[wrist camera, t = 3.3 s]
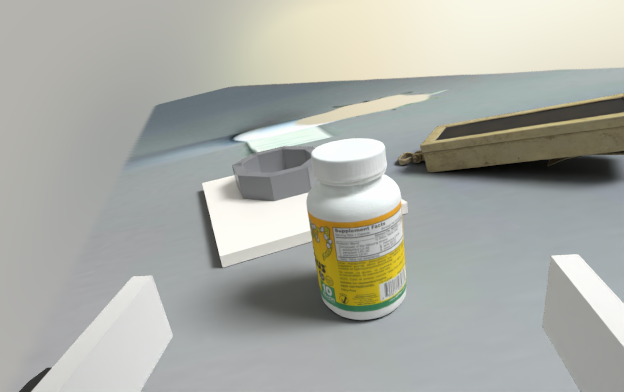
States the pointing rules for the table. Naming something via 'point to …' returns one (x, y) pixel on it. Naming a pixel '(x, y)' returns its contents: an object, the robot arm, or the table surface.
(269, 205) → the plate
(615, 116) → the box
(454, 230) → the table surface
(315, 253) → the supplement bottle
